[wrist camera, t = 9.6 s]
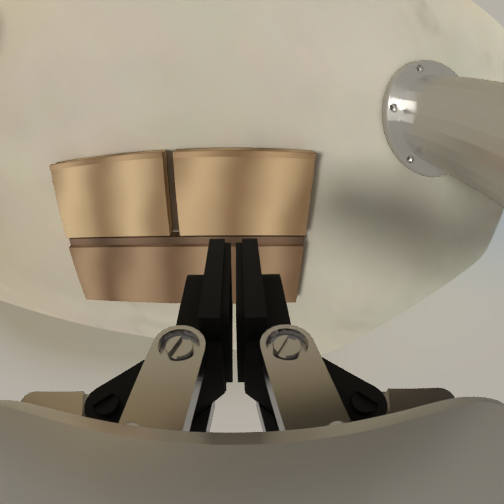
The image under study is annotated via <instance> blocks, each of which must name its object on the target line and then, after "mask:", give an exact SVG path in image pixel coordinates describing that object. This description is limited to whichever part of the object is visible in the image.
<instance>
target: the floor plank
mask: <svg viewBox="0 0 504 504" xmlns="http://www.w3.org/2000/svg"><path fill="white" fill-rule="evenodd" d="M242 238H257V241H258V249H259V256H260V264H261V272H262V274H280V276H281V280H282V285H283V290H284V294H285V299H286V303H287V302H296V298H297V292H298V285H299V278H300V272H301V265H302V258H303V251H304V245H303V240H304V236H303V235H193V236H180V232H171V234H170V236H121V237H79V238H70V239H69V240H70V243H71V246H70V247H69V249H70V252H71V256H72V259H73V262H74V265H75V269H76V272H77V275H78V278H79V281H80V283H81V286H82V289H83V292H84V295H85V297H86V299H91V300H108V301H128V302H155V303H181V300H182V296H183V291H184V287H185V282H186V278H187V275H204V271H205V264H206V258H207V251H208V245H209V239H225V243H231V267H232V303H236V242H242Z"/></svg>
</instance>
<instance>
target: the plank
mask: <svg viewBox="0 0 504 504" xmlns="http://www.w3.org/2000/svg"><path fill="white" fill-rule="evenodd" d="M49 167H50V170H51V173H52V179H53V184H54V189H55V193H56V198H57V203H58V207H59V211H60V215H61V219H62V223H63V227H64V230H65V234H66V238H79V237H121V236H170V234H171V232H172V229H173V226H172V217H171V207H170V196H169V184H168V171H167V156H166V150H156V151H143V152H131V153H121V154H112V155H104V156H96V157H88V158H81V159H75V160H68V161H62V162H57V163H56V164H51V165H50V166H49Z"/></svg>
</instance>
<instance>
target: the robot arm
mask: <svg viewBox="0 0 504 504" xmlns="http://www.w3.org/2000/svg"><path fill="white" fill-rule="evenodd" d="M390 105H391V109H390ZM382 121H383V127H384V132H385V135H386V138H387V141H388V144H389V145H390V147H391V149H392V151H393V153H394V154H395V156H396V157H397V158H398V159H399V161H400V162H401V163H403V164H404V165H405V166H406V167H407V168H409V169H411V170H412V171H414V172H416V173H418V174H420V175H423V176H428V177H439V176H442V175H446V174H450V175H452V176H454V177H455V178H457V179H459V180H461V181H462V182H464V183H466V184H468V185H469V186H471V187H473V188H474V189H476V190H477V191H479V192H481V193H482V194H484V195H485V196H487V197H489V198H490V199H492V200H493V201H495V202H496V203H498V204H499V205H501V206H502V207H504V83H503V82H497V81H491V80H484V79H477V78H468V77H459V76H458V75H457V74H456V73H455V72H454V71H452V70H451V69H450V68H449V67H447V66H445V65H443V64H441V63H438V62H435V61H429V60H421V61H414V62H411V63H408V64H406V65H404V66H403V67H401V68H400V69H399V70H398V71H397V72H396V73H395V74H394V75H393V76H392V78H391V80H390V82H389V84H388V85H387V88H386V91H385V94H384V98H383V105H382ZM236 331H237V366H238V367H237V368H238V382H244V383H245V392H246V394H248V395H249V396H250V397H251V398H253V399H254V400H256V404H257V405H256V406H257V410H258V414H259V418H260V422H261V425H262V429H263V432H249V433H248V432H247V433H213V432H209V431H210V427H211V422H212V417H213V412H214V408H215V400H217V399H218V398H219V397H220V396H222V395H223V394H224V393H225V391H226V382H232V381H233V377H232V375H233V373H232V371H233V370H232V267H231V243H225V239H209V245H208V251H207V258H206V264H205V271H204V275H187V278H186V282H185V287H184V291H183V296H182V300H181V305H180V310H179V314H178V319H177V324H176V326H172V327H169V328H166V329H164V330H163V331H161V332H160V333H159V334H158V335H157V336H156V337H155V339H154V340H153V343H152V345H151V347H150V349H149V352H148V354H147V357H146V358H145V360H143V361H141V362H140V363H138V364H136V365H135V366H133V367H132V368H130V369H128V370H127V371H125V372H123V373H122V374H120V375H118V376H117V377H115V378H113V379H112V380H110V381H108V382H107V383H105V384H103V385H102V386H100V387H98V388H96V389H95V390H94V391H93V392H91V393H90V394H85V393H84V392H83V391H76V392H31V393H29V394H27V395H25V396H24V398H23V399H22V400H21V402H20V401H11V400H0V504H504V404H503V403H502V402H500V401H497V400H494V399H490V398H485V397H484V398H483V397H459V398H455V397H454V396H453V395H452V393H451V392H449V391H448V390H446V389H443V388H419V389H388V390H387V391H386V392H381V391H380V390H379V389H377V388H376V387H375V386H373V385H371V384H369V383H367V382H365V381H363V380H362V379H360V378H358V377H356V376H354V375H353V374H351V373H349V372H347V371H345V370H344V369H342V368H340V367H338V366H337V365H335V364H333V363H331V362H329V361H328V360H326V359H324V358H323V357H321V355H320V353H319V351H318V349H317V346H316V344H315V342H314V340H313V338H312V337H311V335H310V334H309V333H308V332H307V331H305V330H304V329H302V328H300V327H298V326H294V325H291V323H290V318H289V313H288V309H287V304H286V299H285V294H284V290H283V285H282V280H281V276H280V274H262V272H261V264H260V256H259V249H258V241H257V238H242V242H236Z"/></svg>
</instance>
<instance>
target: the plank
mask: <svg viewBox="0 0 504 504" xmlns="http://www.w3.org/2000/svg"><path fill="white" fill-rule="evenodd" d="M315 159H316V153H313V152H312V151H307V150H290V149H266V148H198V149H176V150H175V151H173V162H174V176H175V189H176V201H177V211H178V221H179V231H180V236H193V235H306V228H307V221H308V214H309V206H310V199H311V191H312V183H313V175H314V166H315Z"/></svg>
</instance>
